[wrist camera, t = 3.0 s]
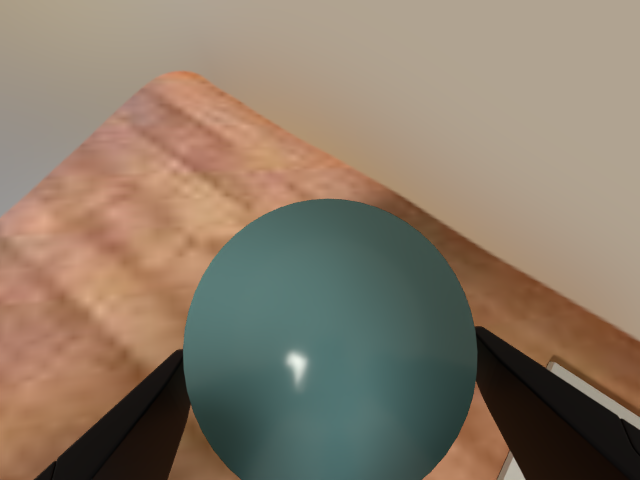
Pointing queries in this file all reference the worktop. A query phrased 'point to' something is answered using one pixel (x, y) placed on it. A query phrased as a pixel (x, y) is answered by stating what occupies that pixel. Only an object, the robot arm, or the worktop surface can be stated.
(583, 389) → the grey mat
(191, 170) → the worktop surface
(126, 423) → the robot arm
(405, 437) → the teal cover
